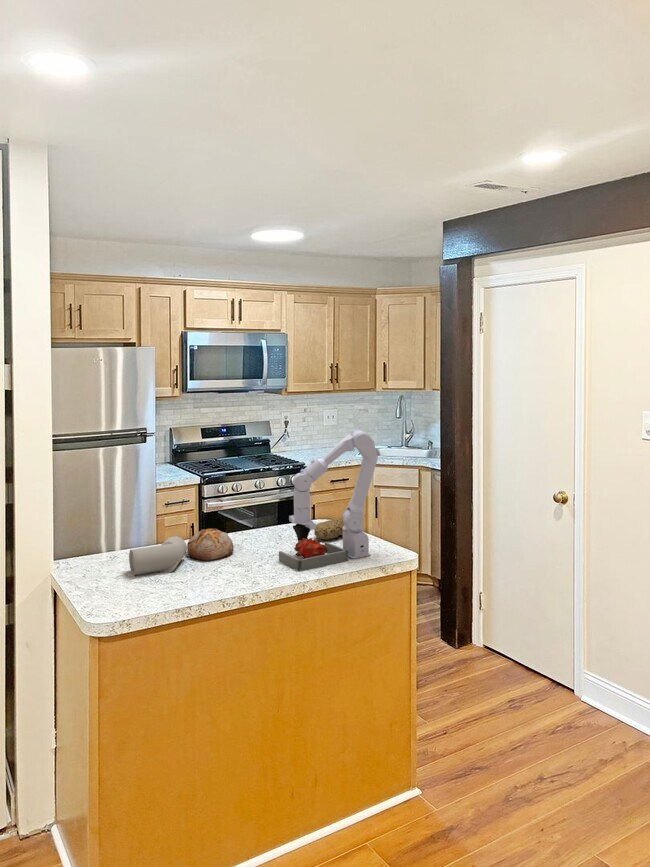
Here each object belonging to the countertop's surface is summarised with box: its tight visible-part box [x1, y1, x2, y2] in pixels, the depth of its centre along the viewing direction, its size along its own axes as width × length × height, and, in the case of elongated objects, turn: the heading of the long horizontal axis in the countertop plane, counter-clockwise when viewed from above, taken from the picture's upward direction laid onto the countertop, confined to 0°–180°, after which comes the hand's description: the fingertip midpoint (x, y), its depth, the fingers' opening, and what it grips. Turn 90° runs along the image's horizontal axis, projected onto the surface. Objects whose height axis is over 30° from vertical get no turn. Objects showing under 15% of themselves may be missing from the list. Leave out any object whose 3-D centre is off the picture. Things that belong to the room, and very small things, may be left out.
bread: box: [186, 528, 235, 562], centre depth 251 cm, size 16×20×10 cm
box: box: [278, 541, 349, 572], centre depth 242 cm, size 13×20×4 cm, turn 124°
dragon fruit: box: [294, 537, 329, 559], centre depth 242 cm, size 8×8×12 cm
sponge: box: [313, 516, 345, 540], centre depth 273 cm, size 13×8×20 cm
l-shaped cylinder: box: [128, 535, 187, 576], centre depth 235 cm, size 18×11×20 cm
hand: (302, 545), depth 247 cm, fingers closed
